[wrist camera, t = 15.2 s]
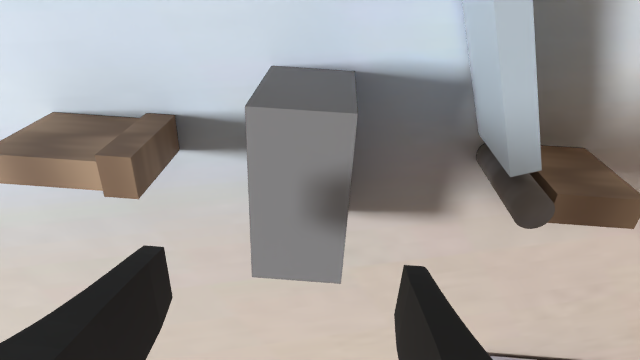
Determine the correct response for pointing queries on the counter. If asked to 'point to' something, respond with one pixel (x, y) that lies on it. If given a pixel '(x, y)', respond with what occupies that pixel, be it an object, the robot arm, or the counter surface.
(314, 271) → the doorstop block
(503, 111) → the door
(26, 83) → the counter surface
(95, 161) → the door frame
